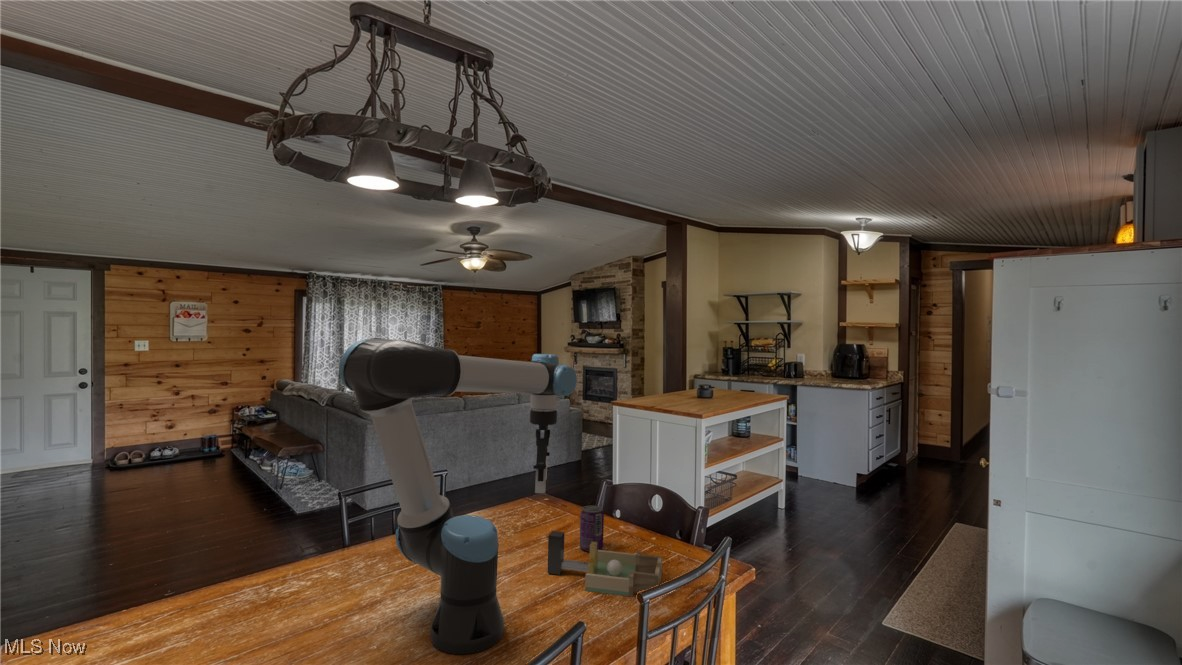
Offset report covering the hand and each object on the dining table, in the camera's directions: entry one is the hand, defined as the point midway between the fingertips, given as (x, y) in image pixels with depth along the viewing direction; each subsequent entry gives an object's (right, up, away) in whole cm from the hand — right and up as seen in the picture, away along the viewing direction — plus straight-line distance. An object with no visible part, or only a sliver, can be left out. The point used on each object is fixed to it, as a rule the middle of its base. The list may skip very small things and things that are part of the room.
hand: (541, 485), depth 148 cm
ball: (+20, -19, -8) cm, 29 cm away
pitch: (+20, -22, -8) cm, 31 cm away
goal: (+28, -23, -10) cm, 37 cm away
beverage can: (+14, -22, +12) cm, 29 cm away
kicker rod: (+9, -22, -6) cm, 24 cm away
